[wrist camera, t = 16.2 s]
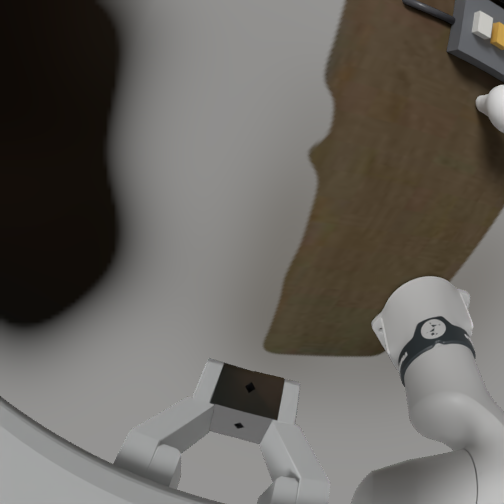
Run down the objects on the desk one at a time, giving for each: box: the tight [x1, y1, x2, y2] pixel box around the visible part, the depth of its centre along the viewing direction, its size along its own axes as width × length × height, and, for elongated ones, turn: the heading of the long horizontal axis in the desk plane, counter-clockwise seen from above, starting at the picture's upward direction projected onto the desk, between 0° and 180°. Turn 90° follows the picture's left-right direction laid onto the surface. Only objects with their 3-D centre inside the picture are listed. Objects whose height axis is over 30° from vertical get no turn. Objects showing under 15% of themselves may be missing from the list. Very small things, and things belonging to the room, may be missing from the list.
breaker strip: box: [402, 0, 504, 83], centre depth 25 cm, size 22×10×6 cm, turn 79°
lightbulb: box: [476, 85, 504, 133], centre depth 28 cm, size 6×6×11 cm
